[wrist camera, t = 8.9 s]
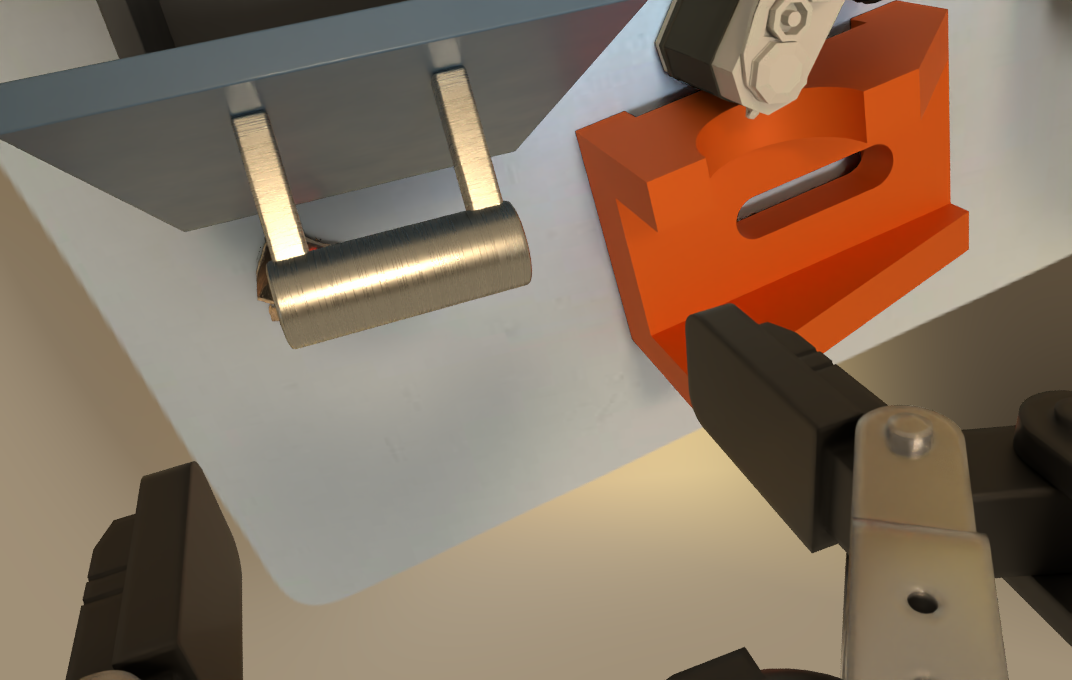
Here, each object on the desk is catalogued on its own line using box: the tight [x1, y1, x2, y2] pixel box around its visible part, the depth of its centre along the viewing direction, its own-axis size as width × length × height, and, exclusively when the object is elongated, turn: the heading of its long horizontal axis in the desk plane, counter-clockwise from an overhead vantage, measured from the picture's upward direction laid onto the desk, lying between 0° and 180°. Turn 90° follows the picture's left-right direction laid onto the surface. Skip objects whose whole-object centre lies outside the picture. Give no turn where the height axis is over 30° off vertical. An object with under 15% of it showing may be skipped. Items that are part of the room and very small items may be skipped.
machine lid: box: [0, 0, 647, 349], centre depth 21 cm, size 14×12×5 cm
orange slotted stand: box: [575, 0, 969, 408], centre depth 41 cm, size 18×13×8 cm
